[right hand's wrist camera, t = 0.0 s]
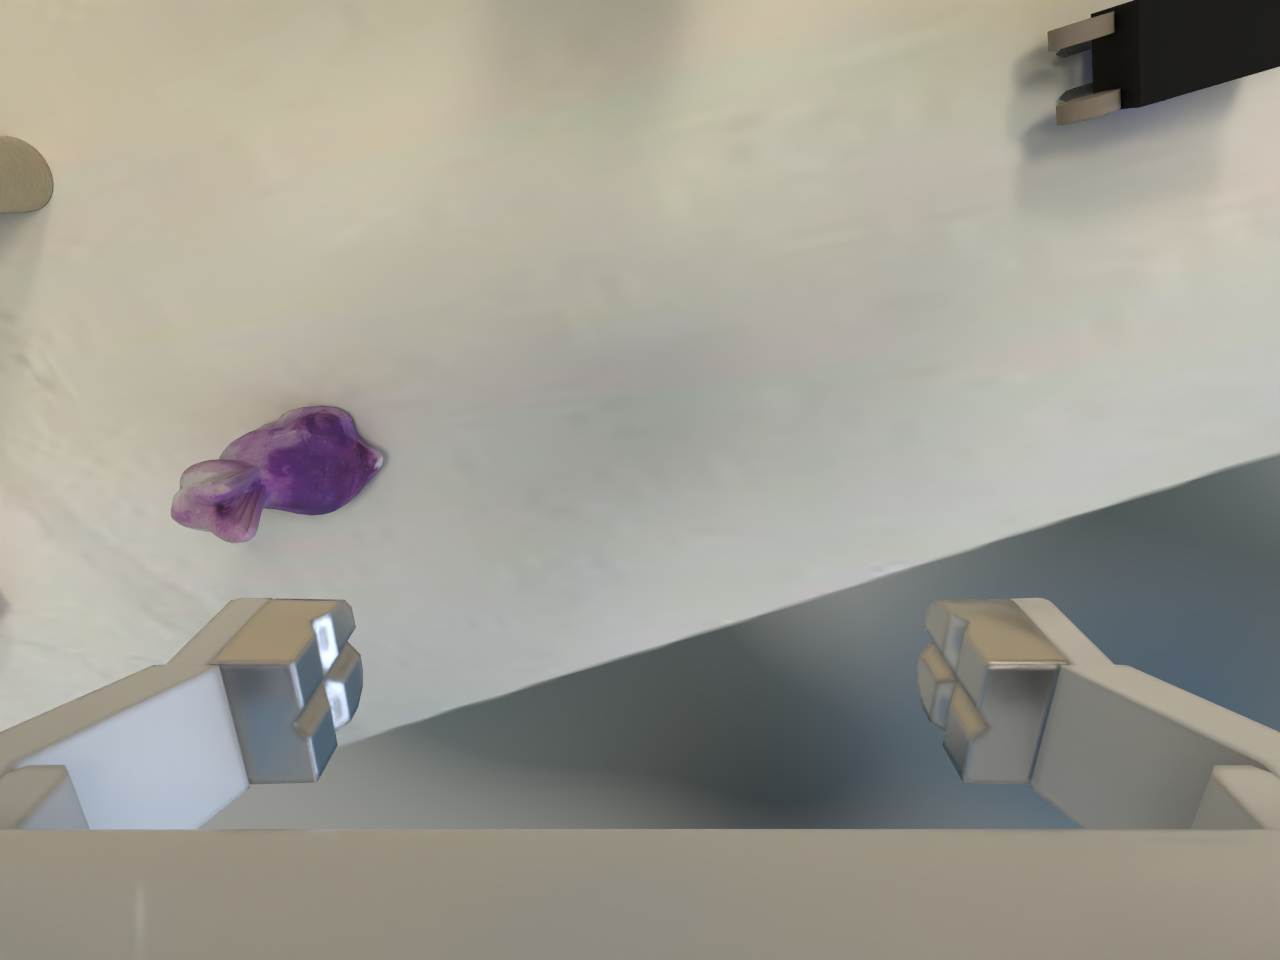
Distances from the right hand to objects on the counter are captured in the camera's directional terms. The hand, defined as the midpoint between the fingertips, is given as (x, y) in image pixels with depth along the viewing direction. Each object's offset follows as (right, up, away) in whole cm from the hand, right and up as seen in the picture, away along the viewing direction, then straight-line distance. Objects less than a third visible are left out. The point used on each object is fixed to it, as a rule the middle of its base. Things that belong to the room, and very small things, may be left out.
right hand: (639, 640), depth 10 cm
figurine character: (+34, +31, +39) cm, 61 cm away
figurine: (-27, +4, +50) cm, 57 cm away
